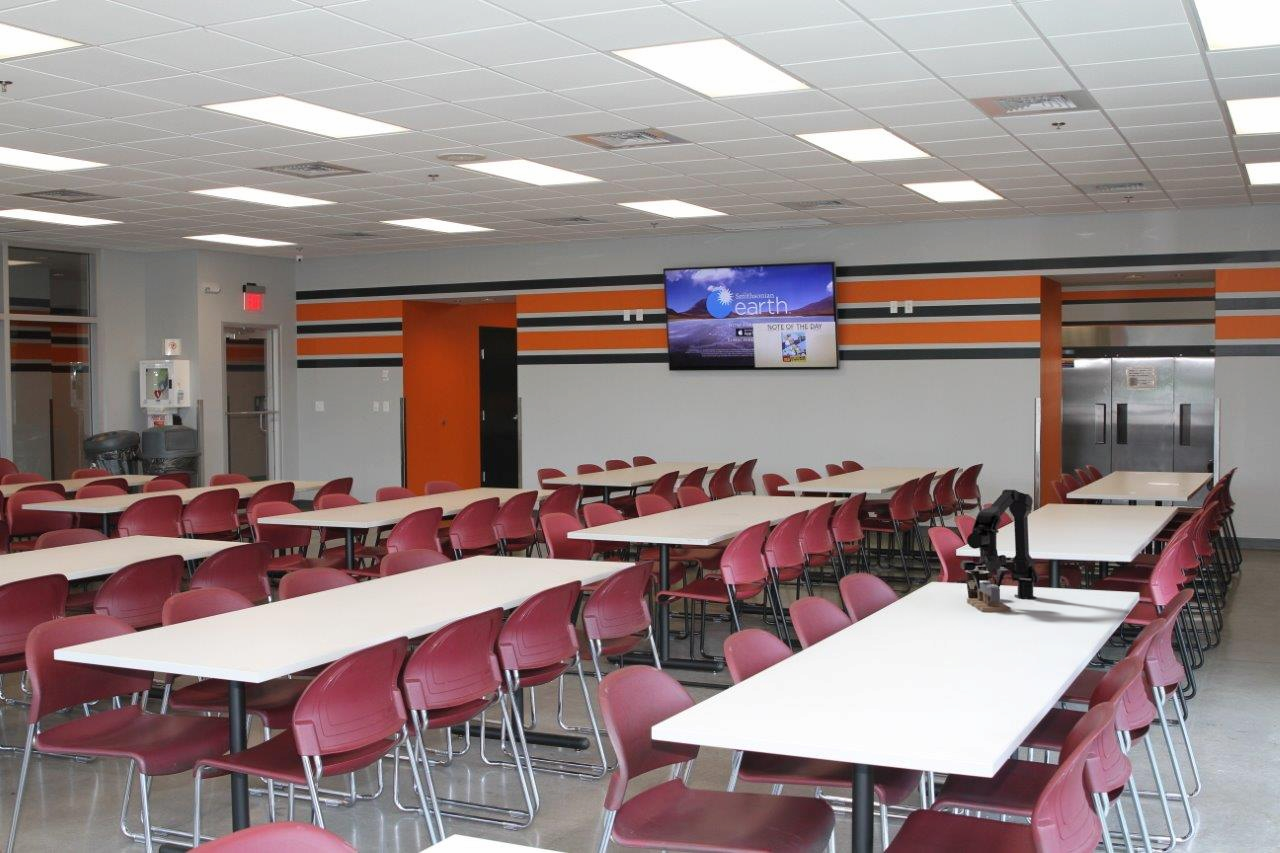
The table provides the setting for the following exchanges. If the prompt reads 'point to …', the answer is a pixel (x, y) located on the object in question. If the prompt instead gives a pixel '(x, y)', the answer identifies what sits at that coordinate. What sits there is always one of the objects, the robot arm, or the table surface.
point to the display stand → (987, 604)
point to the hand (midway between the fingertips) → (988, 589)
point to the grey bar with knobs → (990, 590)
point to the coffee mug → (972, 585)
